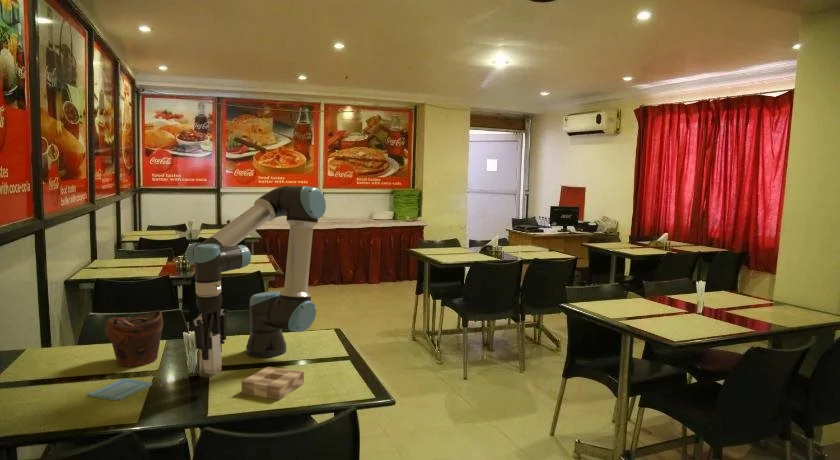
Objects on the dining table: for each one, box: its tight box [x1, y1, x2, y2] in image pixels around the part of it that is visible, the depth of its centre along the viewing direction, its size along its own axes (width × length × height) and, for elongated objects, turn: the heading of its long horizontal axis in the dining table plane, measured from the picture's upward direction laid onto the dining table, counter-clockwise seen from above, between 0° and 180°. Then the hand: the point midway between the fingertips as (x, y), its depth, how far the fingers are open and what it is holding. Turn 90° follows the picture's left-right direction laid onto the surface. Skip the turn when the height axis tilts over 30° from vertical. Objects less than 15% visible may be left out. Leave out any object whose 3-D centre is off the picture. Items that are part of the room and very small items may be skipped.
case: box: [104, 309, 164, 368], centre depth 201 cm, size 18×20×18 cm
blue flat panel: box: [87, 378, 153, 402], centre depth 176 cm, size 14×12×1 cm
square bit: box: [204, 331, 223, 374], centre depth 174 cm, size 4×4×12 cm
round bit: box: [198, 349, 217, 378], centre depth 190 cm, size 5×5×10 cm
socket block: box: [240, 366, 305, 401], centre depth 179 cm, size 14×14×4 cm
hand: (212, 366), depth 174 cm, fingers closed on square bit, 4 cm apart
